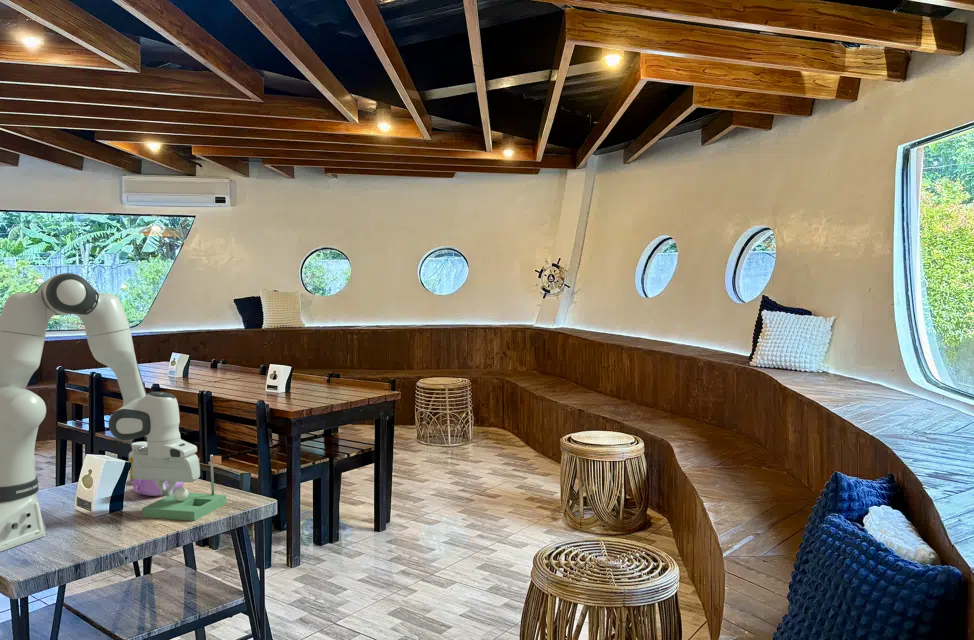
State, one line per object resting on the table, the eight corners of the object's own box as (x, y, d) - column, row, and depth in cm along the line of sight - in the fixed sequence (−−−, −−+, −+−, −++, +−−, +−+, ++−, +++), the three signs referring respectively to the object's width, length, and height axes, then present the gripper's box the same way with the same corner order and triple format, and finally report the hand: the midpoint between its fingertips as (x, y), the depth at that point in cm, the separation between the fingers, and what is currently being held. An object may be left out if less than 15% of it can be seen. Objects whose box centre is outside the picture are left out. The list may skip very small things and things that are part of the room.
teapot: (150, 503, 217) (148, 463, 216) (120, 497, 223) (118, 459, 222) (203, 484, 235) (202, 448, 234) (173, 479, 241) (172, 444, 240)
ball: (168, 498, 208) (179, 505, 208) (173, 486, 208) (185, 493, 207) (177, 494, 212) (188, 501, 212) (182, 482, 212) (193, 489, 211)
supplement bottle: (153, 482, 238) (151, 443, 237) (130, 486, 234) (128, 446, 233) (151, 477, 243) (149, 439, 242) (129, 481, 240) (127, 442, 239)
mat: (194, 520, 200) (194, 511, 200) (142, 516, 204) (142, 508, 204) (226, 503, 215) (226, 495, 215) (177, 500, 219) (176, 491, 219)
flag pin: (222, 496, 214) (220, 455, 213) (211, 495, 215) (209, 455, 214) (223, 495, 215) (221, 455, 214) (212, 494, 215) (210, 454, 215)
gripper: (125, 449, 210) (128, 496, 211) (188, 452, 205) (190, 500, 206) (140, 444, 216) (143, 490, 217) (202, 446, 211) (204, 493, 212)
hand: (166, 495), depth 211 cm, fingers closed
